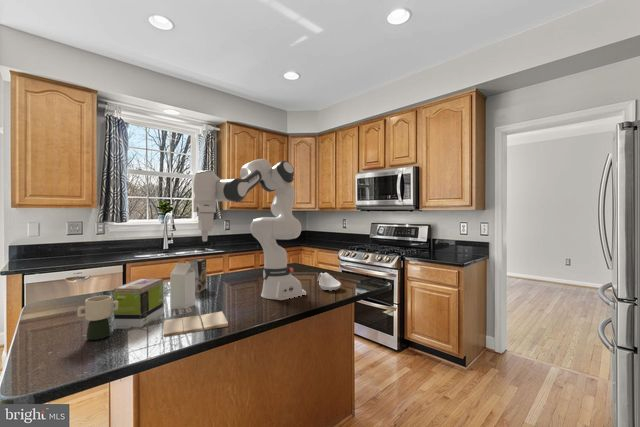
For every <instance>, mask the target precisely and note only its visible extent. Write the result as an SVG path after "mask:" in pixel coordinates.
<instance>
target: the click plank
mask: <svg viewBox="0 0 640 427" xmlns="http://www.w3.org/2000/svg"><path fill="white" fill-rule="evenodd" d="M199 317H200V321H201V325H202V328H203V330H204V331H205V330H213V329H219V328H226V327H229V322H228V320H227V318H226V316H225V314H224V313H223V311H222V310H221V311H217V312H211V313H205V314H200V315H199Z"/></svg>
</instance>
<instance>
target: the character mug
mask: <svg viewBox="0 0 640 427" xmlns="http://www.w3.org/2000/svg"><path fill="white" fill-rule="evenodd" d="M114 304H115V308H114V307H113V305H114ZM82 310H84V313H82ZM115 310H118V301H114V300H112V295H97V296H95V295H94V296H92V297H89V298H86V299H85V300H84V305H83V306H82V305H81V306H79V307H77V314H76V315H77V316H76V317H77V318H85V320H87V321H89V322H88V325H87V331H86V339H88V340H92V341H93V340H95V341H96V340H101V339H105V338H107V337H108V336H109V335H111V328H110V327H111V326H110V322H109V319H108V318H110V317H111V316H112V312H114V311H115Z"/></svg>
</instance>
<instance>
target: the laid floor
mask: <svg viewBox="0 0 640 427" xmlns="http://www.w3.org/2000/svg"><path fill="white" fill-rule="evenodd" d="M163 323H164V324H163V337H169V336H175V335H182V334H188V333H194V332H200V331H203V324H202V320H201V317H200V315H194V316H193V315H192V316H185V317H178V318H170V319H164V321H163Z"/></svg>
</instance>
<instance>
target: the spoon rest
mask: <svg viewBox="0 0 640 427" xmlns="http://www.w3.org/2000/svg"><path fill="white" fill-rule="evenodd" d="M317 281H319V283H318V286H319V287H320V288H321V289H322V290H323V291H325V290H329V291H328V292H333V291H332V290H335V291H337V290H338V289H340V287H341V285H342V283H341V281H339V280H337V279H336V278H334V276H332V275H331V274H330V273H328V272H324V273H323V272H320V273H319V274H318V277H317Z"/></svg>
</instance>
